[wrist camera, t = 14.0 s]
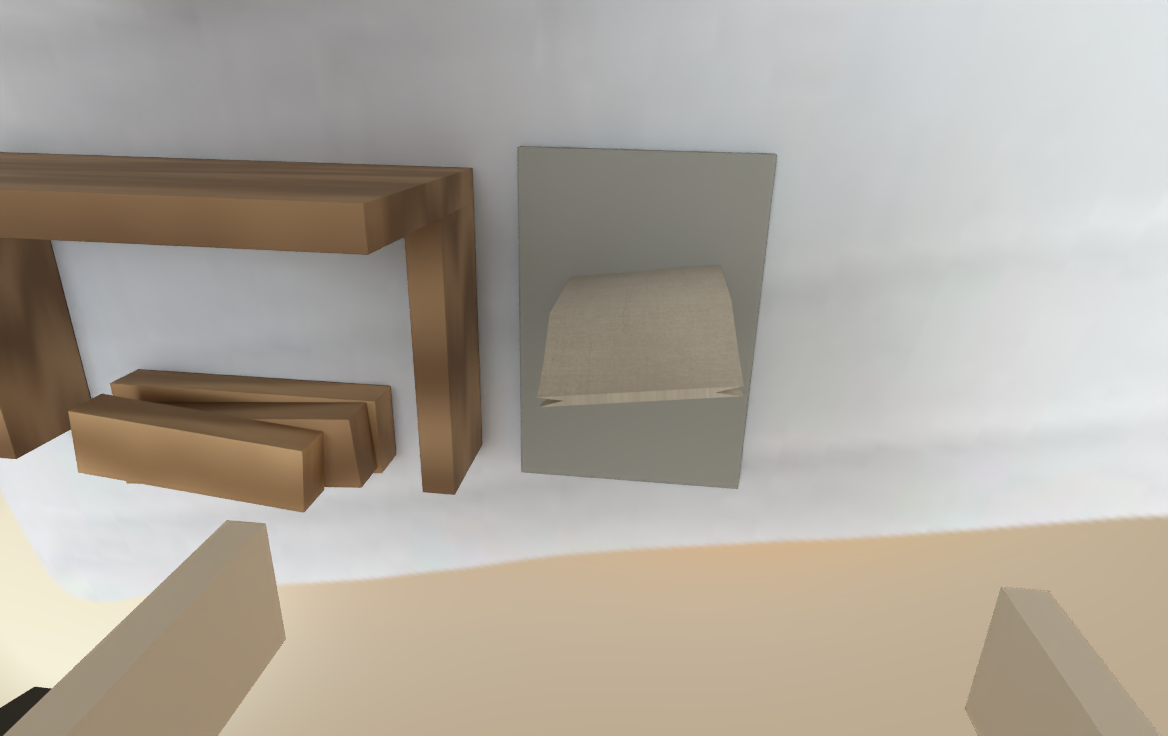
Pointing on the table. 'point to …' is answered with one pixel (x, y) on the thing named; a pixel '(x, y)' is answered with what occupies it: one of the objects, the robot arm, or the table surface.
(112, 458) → the offcut stack
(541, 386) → the tea bag
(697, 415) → the mat
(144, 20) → the table surface
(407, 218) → the bench
